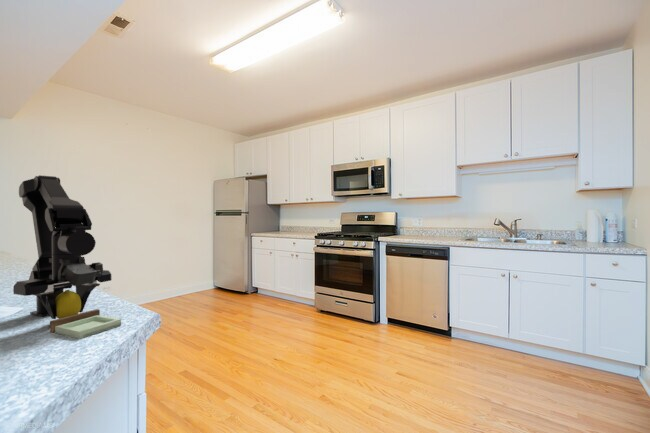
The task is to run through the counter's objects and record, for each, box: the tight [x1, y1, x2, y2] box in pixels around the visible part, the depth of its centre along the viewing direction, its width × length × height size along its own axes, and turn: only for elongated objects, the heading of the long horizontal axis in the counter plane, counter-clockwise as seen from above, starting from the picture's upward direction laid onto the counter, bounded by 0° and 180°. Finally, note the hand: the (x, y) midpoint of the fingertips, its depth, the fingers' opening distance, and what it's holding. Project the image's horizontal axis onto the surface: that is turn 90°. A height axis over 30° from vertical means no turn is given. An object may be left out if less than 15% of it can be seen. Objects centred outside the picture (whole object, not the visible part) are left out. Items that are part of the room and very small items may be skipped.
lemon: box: [55, 289, 81, 319], centre depth 79 cm, size 6×6×8 cm
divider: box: [49, 309, 101, 333], centre depth 76 cm, size 1×10×2 cm, turn 156°
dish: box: [54, 315, 122, 340], centre depth 73 cm, size 9×9×2 cm
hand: (67, 315), depth 79 cm, fingers closed on lemon, 5 cm apart
